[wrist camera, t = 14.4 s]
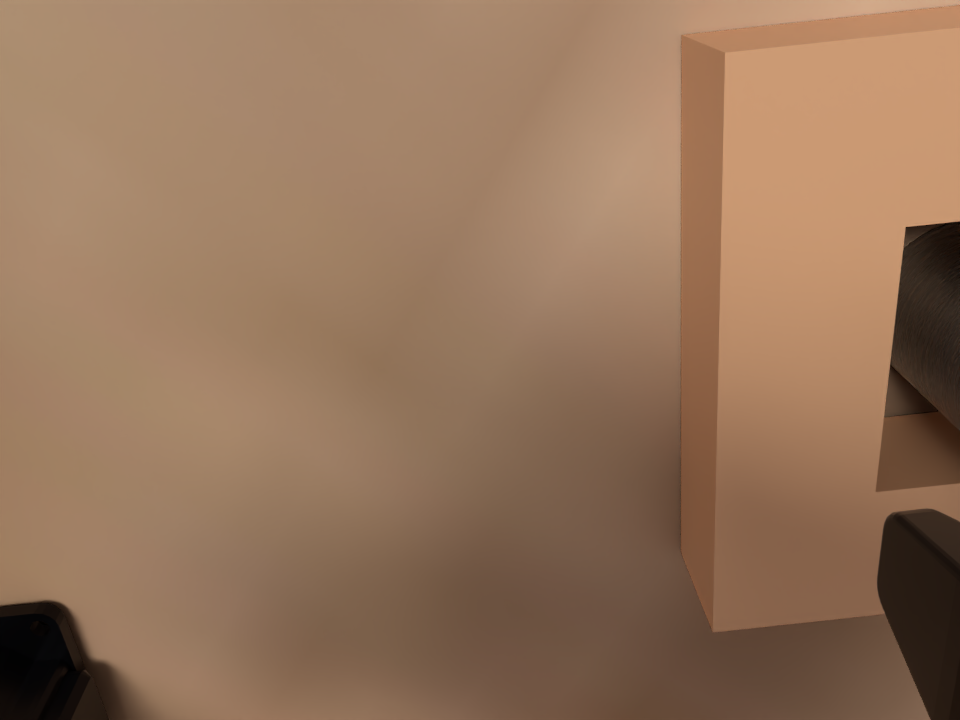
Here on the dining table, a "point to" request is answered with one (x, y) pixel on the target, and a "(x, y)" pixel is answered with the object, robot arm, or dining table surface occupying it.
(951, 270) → the cylinder
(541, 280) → the dining table surface
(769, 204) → the docking socket
